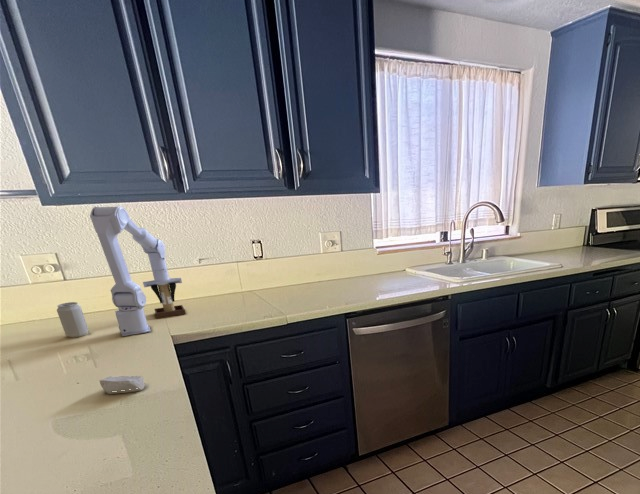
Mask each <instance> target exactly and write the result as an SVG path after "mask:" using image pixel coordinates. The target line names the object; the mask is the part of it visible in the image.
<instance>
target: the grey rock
mask: <svg viewBox="0 0 640 494" xmlns="http://www.w3.org/2000/svg"><path fill="white" fill-rule="evenodd" d="M143 383H144V384H143ZM99 384H100V386H101V388H102V390H103V391H104V392H106V393H105V394H108V395H114V394H115V395H117V394H128V393H129V394H130V393H135V392H140V391H143V389H144V388H145V385H146V383H145V382H144V377H143V376H142V375H135V376H134V375H132V376H131V375H126V376H125V375H120V376H107V377H105V378H102V379H99ZM142 384H143V385H142ZM139 387H140V388H139ZM136 388H138V389H136ZM129 389H131V390H129ZM121 390H125V391H121ZM112 391H117V392H112Z"/></svg>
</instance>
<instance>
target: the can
mask: <svg viewBox="0 0 640 494" xmlns="http://www.w3.org/2000/svg"><path fill="white" fill-rule="evenodd" d="M56 307H57V309H56V313H57V316H58V318H59V320H60V324H61V326H62V329H63V331H64V335H65V336H67V337H68V338H72V339H73V338H74V339H75V338H81V337H84V336H87V335H88V333H89V332H90V330H89V327H88V324H87V321H86V317H85V315H84V312H83V309H82V306H81V305H80V304H78V302H77V301H76V302H75V301H71V302H70V301H69V302H64V303H60V304H58V305H57V306H56Z"/></svg>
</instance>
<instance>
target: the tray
mask: <svg viewBox="0 0 640 494" xmlns="http://www.w3.org/2000/svg"><path fill="white" fill-rule="evenodd" d="M174 308H175V310H174V311H169V312H165V311H164V308H163V307H158V308H157V307H156V308H154V313H155V317H156V319H164V318H169V317H177V316H182V315H183V316H184V315H186V309H185V308H184V305H182V304H179V305H174Z"/></svg>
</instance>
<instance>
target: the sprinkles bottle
mask: <svg viewBox="0 0 640 494" xmlns="http://www.w3.org/2000/svg"><path fill="white" fill-rule="evenodd" d="M157 285H158V290H159V294H160V297H161V300H162V303H161V304H162V308H164V311H165V312H169V311H174V310H175V308H174V306H175V305H174V302H173V300H172V295H171V291H170V287H169V283H162V284H157Z"/></svg>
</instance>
